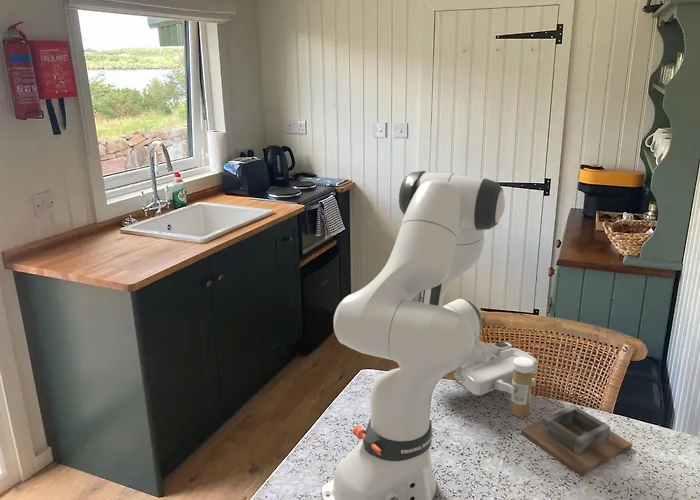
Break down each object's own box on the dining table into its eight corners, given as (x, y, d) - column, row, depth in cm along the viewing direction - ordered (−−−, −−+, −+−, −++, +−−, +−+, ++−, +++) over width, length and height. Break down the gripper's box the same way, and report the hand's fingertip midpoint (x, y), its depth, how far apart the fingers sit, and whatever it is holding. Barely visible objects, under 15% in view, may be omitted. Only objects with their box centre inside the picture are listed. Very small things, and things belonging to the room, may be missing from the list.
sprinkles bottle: (532, 412, 134) (538, 361, 130) (522, 420, 131) (527, 368, 127) (515, 404, 137) (520, 354, 133) (505, 411, 134) (509, 361, 130)
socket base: (580, 476, 113) (583, 456, 112) (520, 433, 126) (521, 415, 125) (631, 448, 121) (634, 429, 120) (569, 411, 134) (571, 393, 133)
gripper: (450, 361, 137) (491, 388, 125) (512, 340, 146) (555, 363, 135) (449, 384, 139) (490, 413, 127) (510, 362, 148) (553, 386, 137)
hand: (524, 387), depth 131 cm, fingers closed on sprinkles bottle, 4 cm apart
